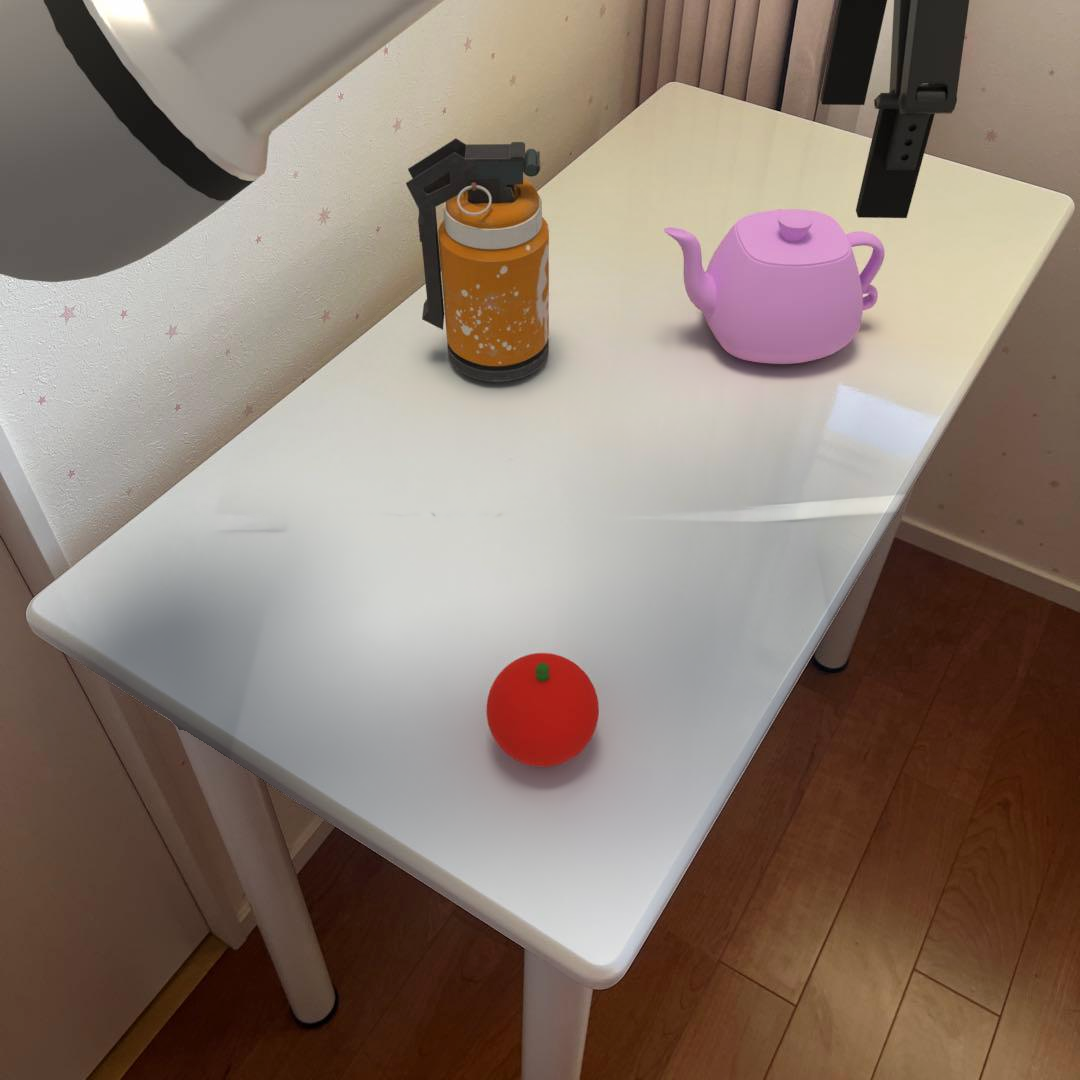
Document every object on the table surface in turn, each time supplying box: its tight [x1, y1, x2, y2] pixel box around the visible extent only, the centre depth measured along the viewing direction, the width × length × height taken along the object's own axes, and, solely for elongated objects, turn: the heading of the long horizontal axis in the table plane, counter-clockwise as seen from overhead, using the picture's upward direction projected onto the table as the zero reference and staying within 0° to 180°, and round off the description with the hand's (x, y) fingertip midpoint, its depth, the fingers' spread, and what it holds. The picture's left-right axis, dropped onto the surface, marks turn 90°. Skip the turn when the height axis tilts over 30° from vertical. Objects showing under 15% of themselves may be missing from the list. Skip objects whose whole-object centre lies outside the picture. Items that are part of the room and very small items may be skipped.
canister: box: [405, 137, 550, 383], centre depth 91 cm, size 9×11×20 cm
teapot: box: [663, 208, 886, 365], centre depth 97 cm, size 20×13×12 cm, turn 96°
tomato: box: [486, 652, 600, 768], centre depth 68 cm, size 7×7×8 cm
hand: (860, 155), depth 66 cm, fingers open, 13 cm apart
